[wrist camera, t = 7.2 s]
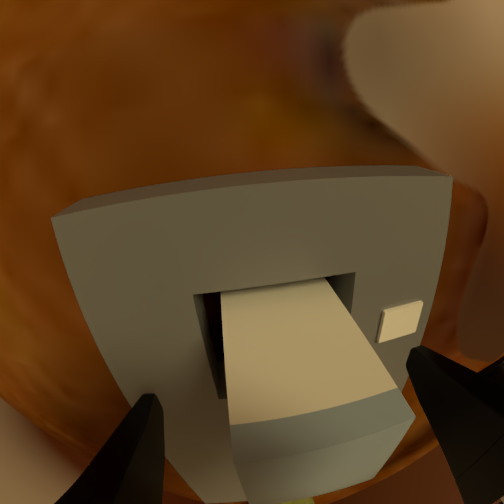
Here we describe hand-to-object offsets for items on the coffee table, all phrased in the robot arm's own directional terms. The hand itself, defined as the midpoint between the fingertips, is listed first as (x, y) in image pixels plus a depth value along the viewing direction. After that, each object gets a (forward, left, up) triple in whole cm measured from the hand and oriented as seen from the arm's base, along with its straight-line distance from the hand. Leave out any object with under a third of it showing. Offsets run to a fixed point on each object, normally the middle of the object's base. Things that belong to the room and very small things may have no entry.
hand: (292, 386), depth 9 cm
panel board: (0, +7, -4) cm, 8 cm away
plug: (0, 0, -4) cm, 4 cm away
